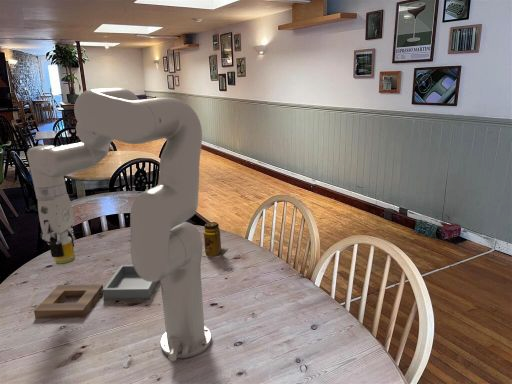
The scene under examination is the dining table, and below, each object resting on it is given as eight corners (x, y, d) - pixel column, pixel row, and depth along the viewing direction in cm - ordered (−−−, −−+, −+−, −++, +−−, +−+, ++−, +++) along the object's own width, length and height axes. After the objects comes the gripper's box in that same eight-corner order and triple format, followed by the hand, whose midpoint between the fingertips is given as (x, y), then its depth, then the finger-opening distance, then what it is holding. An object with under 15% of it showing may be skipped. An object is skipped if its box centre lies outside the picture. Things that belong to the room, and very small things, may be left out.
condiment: (201, 256, 146) (198, 226, 142) (211, 247, 154) (209, 218, 150) (218, 258, 143) (216, 228, 140) (228, 249, 151) (226, 220, 148)
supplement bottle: (52, 263, 112) (45, 232, 110) (71, 257, 116) (65, 226, 114) (59, 268, 109) (53, 236, 106) (78, 261, 113) (72, 230, 110)
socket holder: (84, 317, 110) (83, 309, 109) (35, 318, 110) (33, 310, 110) (103, 291, 123) (102, 284, 123) (60, 292, 124) (58, 285, 123)
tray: (149, 299, 118) (148, 289, 117) (103, 299, 119) (102, 289, 118) (162, 273, 134) (161, 264, 133) (122, 274, 134) (120, 265, 133)
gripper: (47, 199, 98) (61, 265, 103) (78, 182, 115) (89, 239, 120) (18, 200, 99) (33, 266, 103) (53, 183, 115) (65, 240, 120)
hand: (63, 251), depth 112 cm, fingers closed on supplement bottle, 5 cm apart
